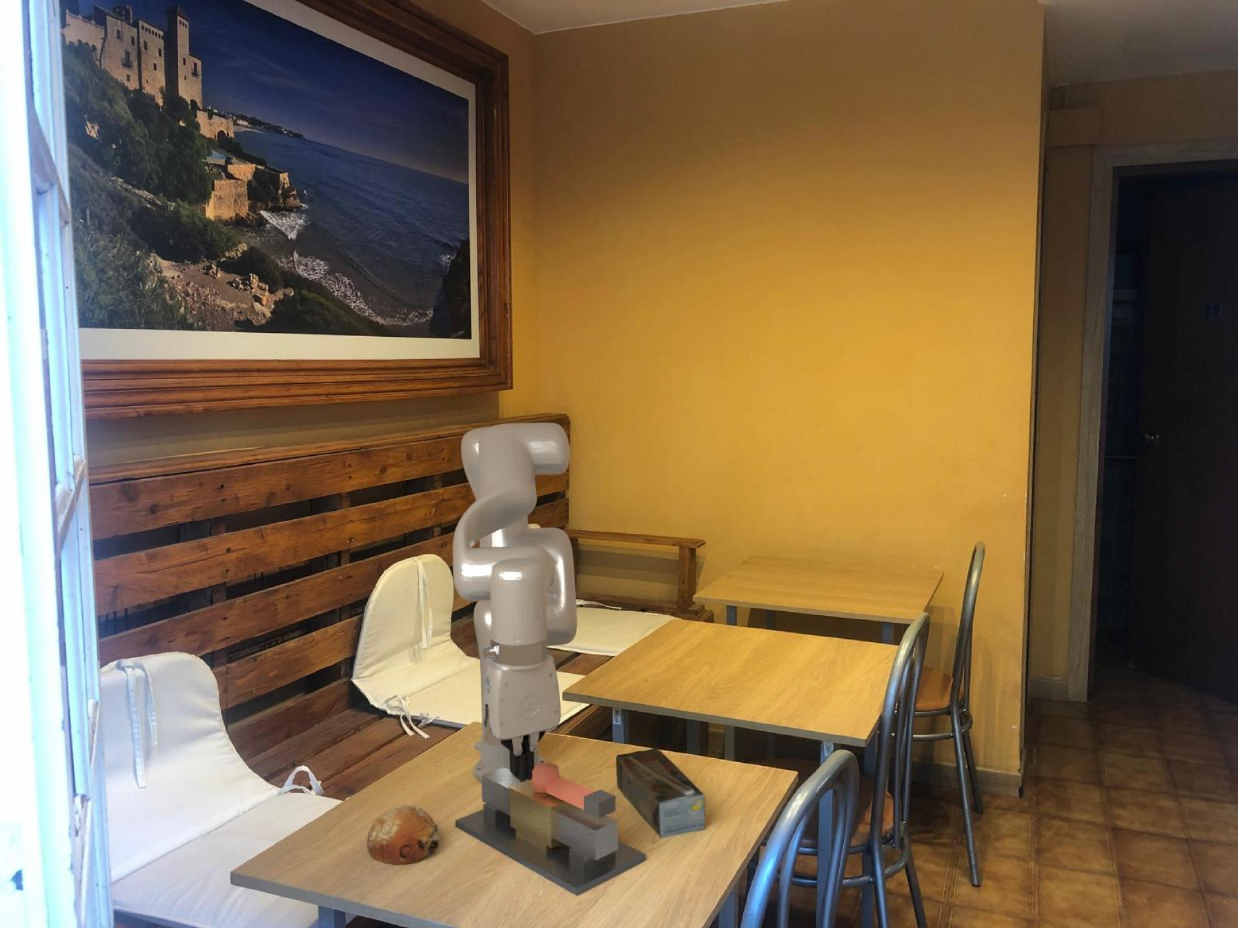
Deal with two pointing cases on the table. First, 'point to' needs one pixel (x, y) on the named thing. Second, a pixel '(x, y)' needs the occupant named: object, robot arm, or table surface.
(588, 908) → the table surface
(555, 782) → the lever
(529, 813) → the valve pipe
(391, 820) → the bread roll
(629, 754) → the beverage carton
